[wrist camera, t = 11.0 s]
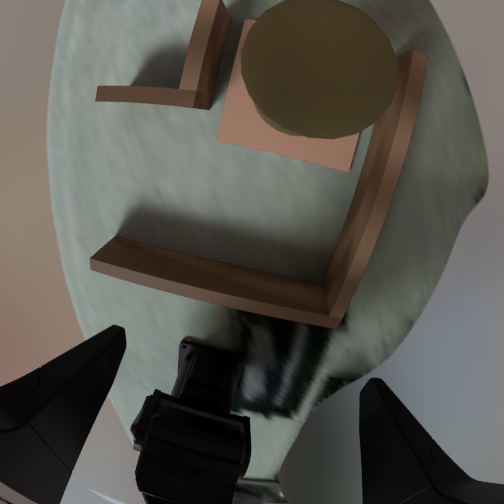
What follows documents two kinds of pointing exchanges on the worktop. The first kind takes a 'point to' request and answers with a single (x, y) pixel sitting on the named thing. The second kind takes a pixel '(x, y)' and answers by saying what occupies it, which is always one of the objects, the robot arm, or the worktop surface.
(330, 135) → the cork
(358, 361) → the worktop surface
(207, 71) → the bent channel
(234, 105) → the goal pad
